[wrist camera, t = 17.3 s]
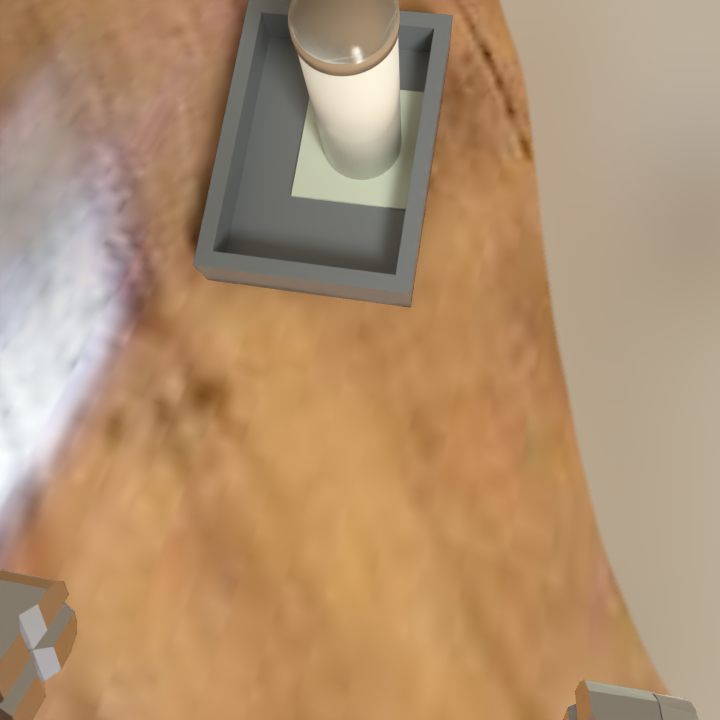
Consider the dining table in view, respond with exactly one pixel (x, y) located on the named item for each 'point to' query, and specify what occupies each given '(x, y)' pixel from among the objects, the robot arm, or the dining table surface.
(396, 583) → the dining table surface
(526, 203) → the dining table surface
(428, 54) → the tray
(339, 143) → the tube
